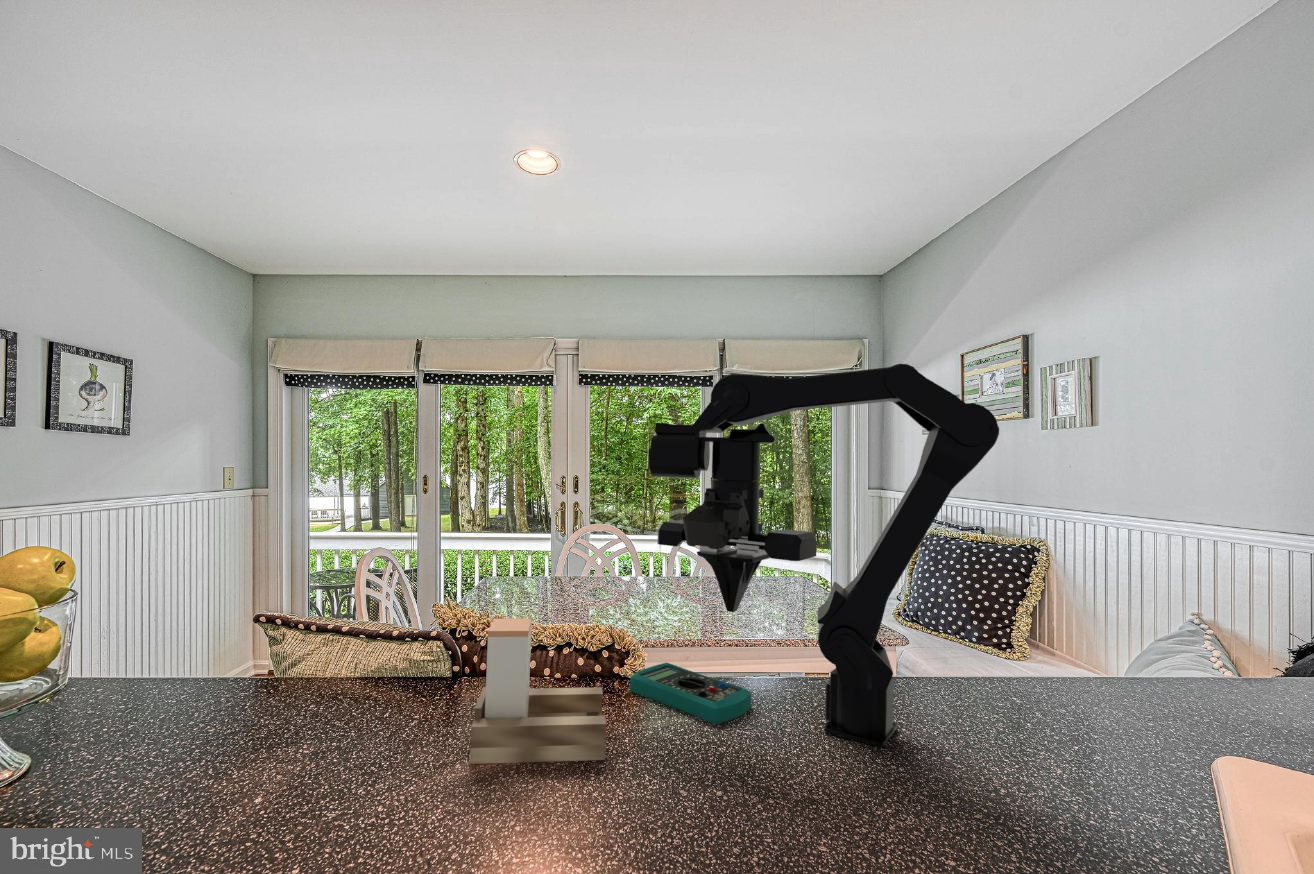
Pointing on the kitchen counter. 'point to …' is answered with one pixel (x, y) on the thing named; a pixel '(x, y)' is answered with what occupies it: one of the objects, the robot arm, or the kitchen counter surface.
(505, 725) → the open taupe tray
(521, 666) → the switch tab
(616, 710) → the kitchen counter surface
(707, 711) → the digital multimeter
